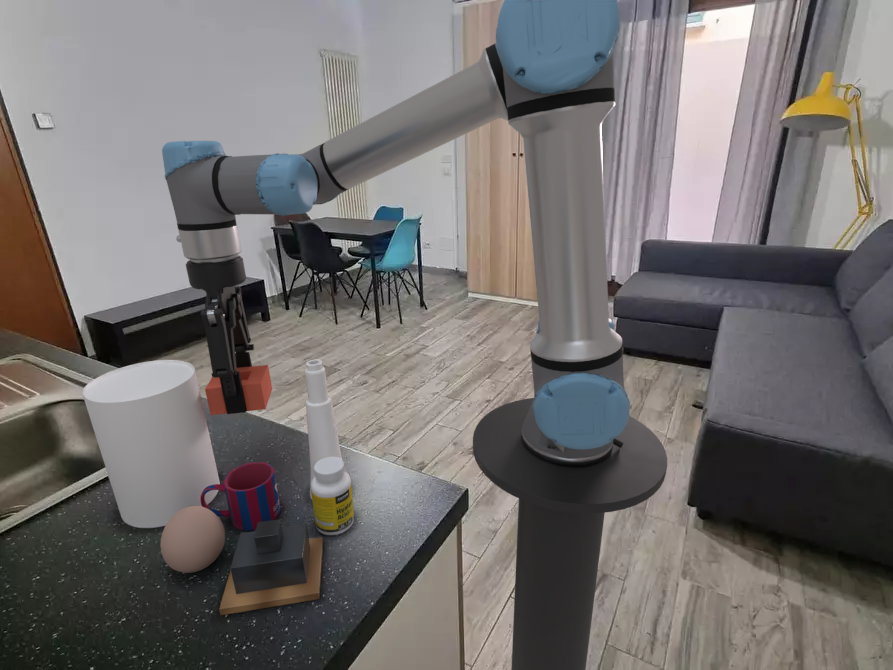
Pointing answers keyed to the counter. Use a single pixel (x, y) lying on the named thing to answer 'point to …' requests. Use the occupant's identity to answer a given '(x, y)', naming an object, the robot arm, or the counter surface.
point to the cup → (248, 495)
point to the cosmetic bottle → (320, 416)
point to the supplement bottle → (332, 496)
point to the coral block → (253, 387)
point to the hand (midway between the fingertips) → (242, 400)
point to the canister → (152, 439)
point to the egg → (192, 539)
